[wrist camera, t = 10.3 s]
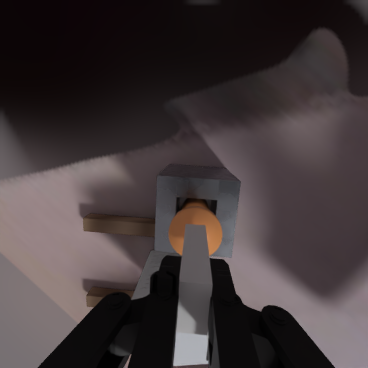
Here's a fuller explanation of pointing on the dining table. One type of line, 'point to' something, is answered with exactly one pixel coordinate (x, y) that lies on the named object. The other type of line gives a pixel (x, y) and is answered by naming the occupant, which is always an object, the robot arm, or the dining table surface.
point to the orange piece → (198, 215)
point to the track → (115, 227)
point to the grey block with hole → (200, 189)
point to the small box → (185, 343)
